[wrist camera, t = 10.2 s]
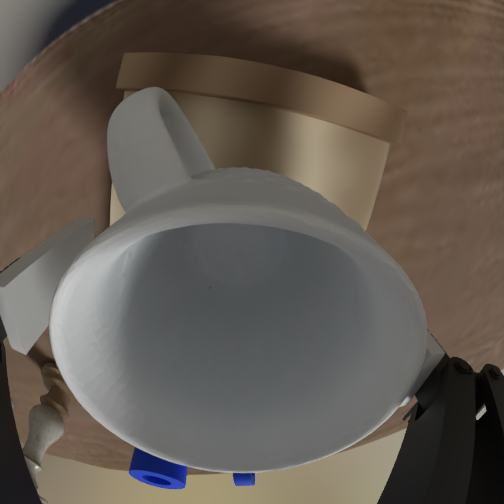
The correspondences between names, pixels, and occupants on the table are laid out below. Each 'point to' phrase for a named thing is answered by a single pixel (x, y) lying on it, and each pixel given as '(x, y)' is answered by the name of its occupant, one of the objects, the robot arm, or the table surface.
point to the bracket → (169, 472)
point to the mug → (230, 309)
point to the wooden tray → (276, 123)
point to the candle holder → (47, 419)
